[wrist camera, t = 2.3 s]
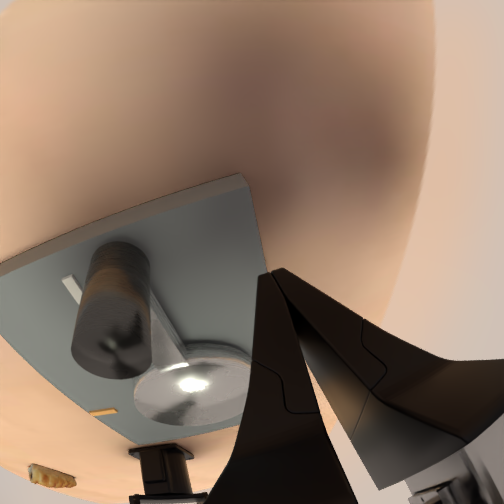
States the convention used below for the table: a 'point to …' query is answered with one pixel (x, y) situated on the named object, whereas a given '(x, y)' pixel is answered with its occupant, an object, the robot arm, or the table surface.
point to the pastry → (50, 477)
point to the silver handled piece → (152, 346)
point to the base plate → (161, 282)
